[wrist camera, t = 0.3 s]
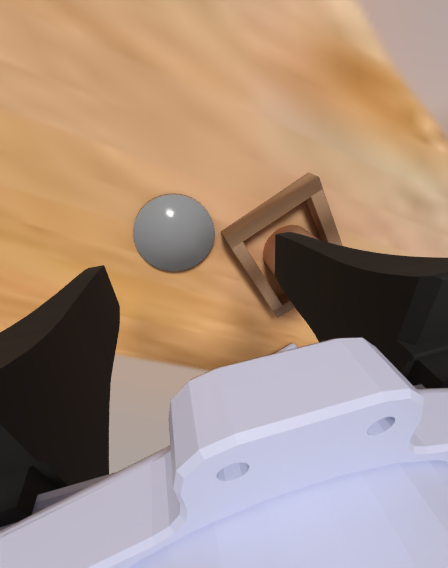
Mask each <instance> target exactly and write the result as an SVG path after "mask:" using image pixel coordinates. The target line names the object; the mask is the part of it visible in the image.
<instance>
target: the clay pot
mask: <svg viewBox="0 0 448 568" xmlns="http://www.w3.org/2000/svg"><path fill="white" fill-rule="evenodd" d="M285 232H293V233H298V234H302V235H305V236H309V237H312V238H315V239H317V238H316V237H315V236H313V235H312V234H311V233H309V232H308V231H307V230H305V229H304V228H303V227H301V226H297V225H288V226H284V227H282V228H280V229H278V230H276V231H275V232H274V233H273V234H272V235H271V236H270V237H269V238H268V240H267V242H266V243H265V246H264V250H263V258H264V261H265V263H266V265H267V266H268V268H269V269H270V270H271V272H272V273H273V274H274V275H275V234H279V233H285ZM275 277H276V276H275Z"/></svg>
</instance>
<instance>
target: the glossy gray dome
mask: <svg viewBox="0 0 448 568" xmlns="http://www.w3.org/2000/svg"><path fill="white" fill-rule="evenodd" d="M214 236H215V231H214V225H213V221H212V219H211V217H210V215H209V213H208V212H207V210H206V209H205V208H204V207H203V206H202V205H201V204H200V203H199V202H198V201H196V200H195V199H193V198H191V197H188V196H186V195H182V194H164V195H161V196H158V197H156V198H153V199H152V200H150V201H149V202H147V203H146V204H145V205H144V206H143V207H142V208H141V210H140V211H139V213H138V215H137V217H136V219H135V222H134V228H133V238H134V243H135V246H136V248H137V250H138V252H139V254H140V255H141V256H142V257H143V259H145V260H146V261H147V262H148V263H149V264H151V265H152V266H154V267H156V268H159V269H162V270H166V271H182V270H186V269H189V268H191V267H194V266H195V265H197V264H199V263H200V262H201V261H202V260H203V259H204V258H205V257H206V256H207V255H208V253H209V252H210V250H211V248H212V245H213V242H214Z"/></svg>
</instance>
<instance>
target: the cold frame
mask: <svg viewBox="0 0 448 568" xmlns="http://www.w3.org/2000/svg"><path fill="white" fill-rule="evenodd" d="M304 201H306V204H307V206H308V209H309V211H310V214H311V216H312V219H313V221H314V224H315V226H316V229H317V231H318V234H319V236H320V239H321V240H322V241H325V242H329V243H333V244H336V245H340V246H342V243H341V240H340V237H339V234H338V231H337V228H336V225H335V222H334V220H333V217H332V214H331V211H330V208H329V205H328V202H327V199H326V196H325V193H324V191H323V188H322V185H321V182H320V179H319V177H318V176H315V175H313V174H310V173H307V174H306V175H304V176H303V177H302V178H300V179H299V180H297V181H296V182H294V183H293V184H291V185H290V186H288V187H287V188H285V189H284V190H282V191H281V192H279V193H278V194H276V195H275V196H273V197H272V198H270V199H269V200H267V201H266V202H264V203H263V204H261V205H260V206H258V207H257V208H255V209H254V210H252V211H251V212H249V213H248V214H246V215H245V216H244V217H242V218H241V219H239V220H238V221H236V222H235V223H233V224H232V225H230V226H229V227H227V228H226V229H224V230H223V231H221V233H222V235H223V236H224V238H225V240H226V241H227V243H228V244H229V246H230V247H231V249H232V250H233V252H234V253H235V255H236V256H237V258H238V259H239V261H240V262H241V264H242V265H243V267H244V268H245V270H246V271H247V273H248V274H249V276H250V277H251V279H252V280H253V282H254V283H255V285H256V286H257V288H258V289H259V291H260V292H261V294H262V295H263V297H264V298H265V300H266V301H267V303H268V304H269V306H270V307H271V309H272V310H273V312H274V313H275V315H276V316H277V318H278V317H279V316H281V315H282V314H284V313H286V312H287V311H289V310H291V309H292V308H294V307H295V306H294V305H293V304H292V302H291V301H290V300H289V298H288V297H287V296H286V294H285V293H284V292H283V293H281V294H279V295H278V296H276V295H275V293H274V291H273V290H272V288H271V287H270V285H269V283H268V282H267V280H266V279H265V277H264V275H263V274H262V272H261V270H260V269H259V267H258V266H257V264H256V262H255V261H254V259H253V258H252V256H251V254H250V253H249V251H248V249H247V248H246V246H245V245H244V243H243V241H245V240H246V239H248V238H249V237H251V236H252V235H254V234H255V233H257V232H258V231H260V230H261V229H263V228H264V227H266V226H267V225H269V224H270V223H272V222H273V221H275V220H276V219H278V218H279V217H281V216H282V215H284V214H285V213H287V212H288V211H290V210H292V209H293V208H295V207H296V206H298V205H299V204H301V203H302V202H304Z"/></svg>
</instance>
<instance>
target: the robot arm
mask: <svg viewBox="0 0 448 568" xmlns="http://www.w3.org/2000/svg"><path fill="white" fill-rule="evenodd" d="M275 276H276V278H277V280H278V282H279V284H280V286H281V288H282V290H283V291H284V293H285V294H286V296H287V297H288V298H289V300H290V301H291V302H292V304H293V305H294V306H295V308H296V309H297V310H298V312H299V313H300V314H301V316H302V317H303V318H304V320H305V321H306V322H307V324H308V325H309V326H310V328H311V329H312V331H313V332H314V334H315V335H316V337H317V339H318V341H319V343H315V344H311V345H307V346H303V347H299V348H297V346H296V345H295V344H290V345H288V346H286V347H285V348H283V349H281V350H280V351H278V352H276V353H275V354H271V355H267V356H263V357H259V358H255V359H251V360H247V361H243V362H239V363H235V364H231V365H227V366H222V367H218V368H215V369H213V370H211V371H209V372H206V373H204V374H202V375H200V376H197V377H195V378H193V379H191V380H190V381H189V382H188V383H187V384H186V385H185V386H184V387H183V388H182V389H181V390H180V391H179V392H178V393H177V394H176V395H175V396H174V397H173V399H171V402H170V412H169V432H170V446H168V447H166V448H164V449H162V450H160V451H158V452H156V453H154V454H152V455H150V456H148V457H146V458H144V459H142V460H140V461H138V462H136V463H134V464H132V465H130V466H128V467H126V468H124V469H122V470H120V471H118V472H116V473H112V474H109V401H110V382H111V374H112V368H113V362H114V356H115V350H116V344H117V338H118V332H119V323H120V306H119V303H118V301H117V298H116V295H115V293H114V290H113V287H112V285H111V282H110V280H109V277H108V274H107V272H106V269H105V266H104V265H103V266H98V267H92V268H88V269H86V270H85V271H83V272H82V273H81V274H79V275H78V276H77V277H76V278H74V279H73V280H72V281H71V282H70V283H69V284H67V285H66V286H65V287H64V288H63V289H61V290H60V291H59V292H58V293H57V294H55V295H54V296H53V297H52V298H50V299H49V300H48V301H46V302H45V303H44V304H43V305H41V306H40V307H39V308H37V309H36V310H35V311H33V312H32V313H30V314H29V315H28V316H26V317H25V318H23V319H22V320H20V321H18V322H17V323H15V324H14V325H12V326H11V327H9V328H7V329H6V330H4V331H2V332H0V568H448V258H432V257H410V256H399V255H388V254H380V253H374V252H368V251H362V250H357V249H352V248H348V247H344V246H340V245H336V244H333V243H329V242H325V241H322V240H319V239H315V238H312V237H309V236H305V235H302V234H298V233H293V232H285V233H279V234H275Z"/></svg>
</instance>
